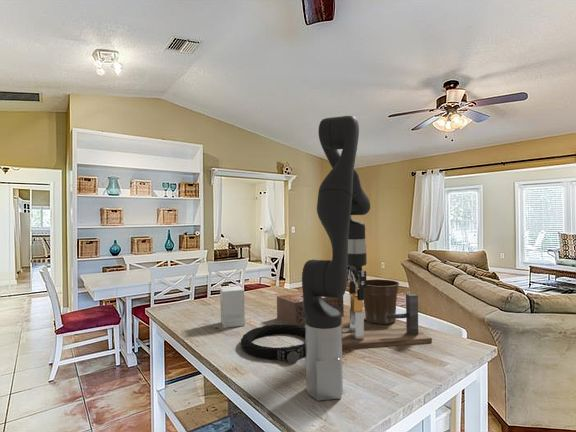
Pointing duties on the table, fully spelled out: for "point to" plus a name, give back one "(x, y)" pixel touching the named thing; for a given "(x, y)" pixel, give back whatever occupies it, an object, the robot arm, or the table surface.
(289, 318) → the tissue box cover
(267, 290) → the table surface
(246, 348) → the cable lock
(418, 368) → the table surface
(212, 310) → the table surface
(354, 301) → the end link
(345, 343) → the board
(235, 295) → the supplement box
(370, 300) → the plant pot
